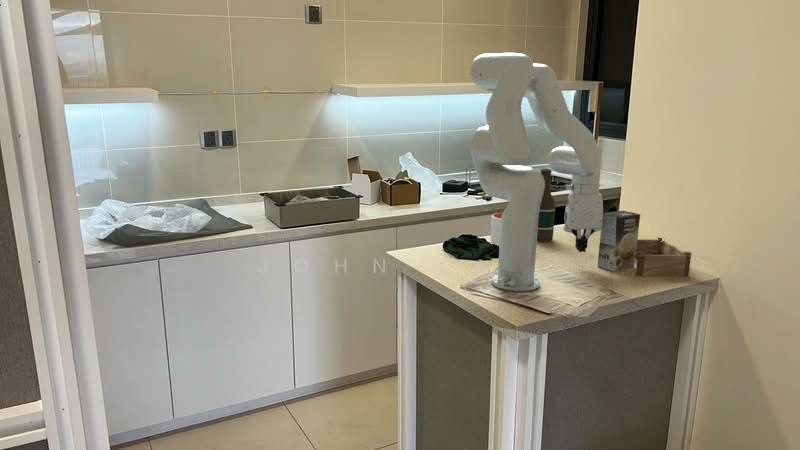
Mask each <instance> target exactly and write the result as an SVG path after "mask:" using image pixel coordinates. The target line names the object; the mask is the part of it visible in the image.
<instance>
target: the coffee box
mask: <svg viewBox="0 0 800 450" xmlns="http://www.w3.org/2000/svg"><path fill="white" fill-rule="evenodd" d="M640 220H641V214H640V213H636V212H632V211H626V210H617V211H610V212H603V226H602V227H601V231H600V238H599V245H598V246H599V248H598V256H597V267H599V268H602V269H604V270H608V271H612V272H618V271H623V270H628V269H631V268H635V263H636V259H635V256H636V247H637V239H638V238H639V228H640Z"/></svg>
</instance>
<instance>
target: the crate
mask: <svg viewBox="0 0 800 450" xmlns="http://www.w3.org/2000/svg"><path fill="white" fill-rule="evenodd" d="M659 237H660V236H658V237H657V239H658V240H657V239H653V238H652V239H651V238H650V239H649V238H648V239H644V238H643V239H641V238H640V239H637V247H636V256H635V260H636V266H635V276H636V277H689V275H690V274H689V273H690V267H691V258H692V252H691V251H684V250H682V249H680V248H678V247H676V246H674V245H672V244H671V243H669V242H667V241H666V240H664V241H662V238H659ZM661 241H662V242H661ZM665 241H666V242H665Z"/></svg>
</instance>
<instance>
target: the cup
mask: <svg viewBox="0 0 800 450" xmlns="http://www.w3.org/2000/svg"><path fill="white" fill-rule="evenodd" d="M502 214H503V212H498V213H493V214H492V215H491V223H490V225H491V226H490V244H491V243H492V244H495V245H497V246H500V228H501V217H502ZM492 244H491V245H492Z"/></svg>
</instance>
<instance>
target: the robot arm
mask: <svg viewBox="0 0 800 450" xmlns="http://www.w3.org/2000/svg"><path fill="white" fill-rule="evenodd" d="M469 73H470V74H469V75H470V78H471V81H472V82H473V84H475V85H476V87H478V88H479V89H482V90H485V91H488V92H492V94H491V96H490V98H489V99H488V101H487V106H486V109H485V118H486V123H487V125H483V126H480V127H478V128H477V129H476V130H475V131H473V132H474V133H473V135H472V136H471V140H470V154H471V158H472V162H473V166H474V169H475V172H476V176H477V179H478V182H479V184H480V187H481V189H482V190H483V193H485V194H486V195H487V196H488V197H492V198H496V199H500V200H503V201H508V203H507V206H506V207H505V209H504V210H503V211H502V213H503V214H502V217H501V228H500V246H499V248H498V251H499V252H498V265H497V267H498V268H497V274H495V275H493V276H492V277H491V284H492V285H493V286H494V287H496V288H498V289H501V290H504V291H511V292H530V290H531V291H534V289H535V290H537V289H538V288H540V286H539V285H541V282H540V279H538V278H537V277H535V273H536V256H537V243H538V242H537V230H538V216H539V209H540V204H541V200H542V196H543V193H544V188H545V181H544V177H543V175H542V174H541V173H540V170H539V169H536V168H534V167H531V166H526V165H523V164H525V163H526V162H527V161H528V159H529V158H530V153H531V150H530V148H531V147H530V142H529V139H528V138H529V137H528V135H527V131H526V126H525V122H524V118H523V113H522V102H523V99H525V98H526V99H527V101H528V104H529V106H530V108H531V110H532V114H533V115H534V117H535V121H536V123H537V125H538V127H539V128H540V129H541V130H543V131H544V132H547V133H548V134H550V135H551V136H554V137H555V138H557V139H559V140H561V141H563V142H565V143H566V144H567V145H568V146H567V145H559V146H557V147H555V148H553V149H552V150H551V151H550V152H549V153H548V156H547V162H548V166H549V168H550V170H551V171H554V172H556V173H557V174H563V175H564V174H565V175H568V176H569V175H572V177H571V182H570V184H567V185H566V190H568V191H570V192H569V193H568V196H567V200H566V204H565V208H564V209H565V211H564V221H563V223H564V227H563V231H564V232H567V233H569V234H570V233H572V234H573V235H574V237H575V249H576V251H578V252H579V253H582V252H583V253H586V252H587V251H586V249H587V248H588V241H589V239H590V237H591V236H592V235H593V234H594V233H597V232H601V227H602V226H603V213H604V200H603V195H602V193H600V182H601V170H602V169H601V166H602V157H603V156H602V152H603V151H602V148H601V146H599V145H598V143H597V140H596V138H595V136H594V135H593V133H592V132H591V130H589V128H588V127H587V126H586V125H584V123H583V122H582V121H580V120H579V119H578V117H576V116H575V115H574V114H572V112H571V111H570V109H569V107H568V104H567V101H566V99H565V97H564V94H563V90H562V89H561V85H560V84H559V83H560V82H559V80H558V78H557V75H556V73H555V70H554V69H553V68H552V67H551V66H550V65H547V64H543V63H534V62H533V60H532V58H531V57H530V56H528V55H527V54H523V53H520V52H519V53H518V52H501V53H500V52H499V53H482V54H480V55H478V56H477V57H475V58H474V60H473V61H472V63H471V64H470V70H469ZM582 230H583V231H582ZM536 288H537V289H536Z"/></svg>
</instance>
